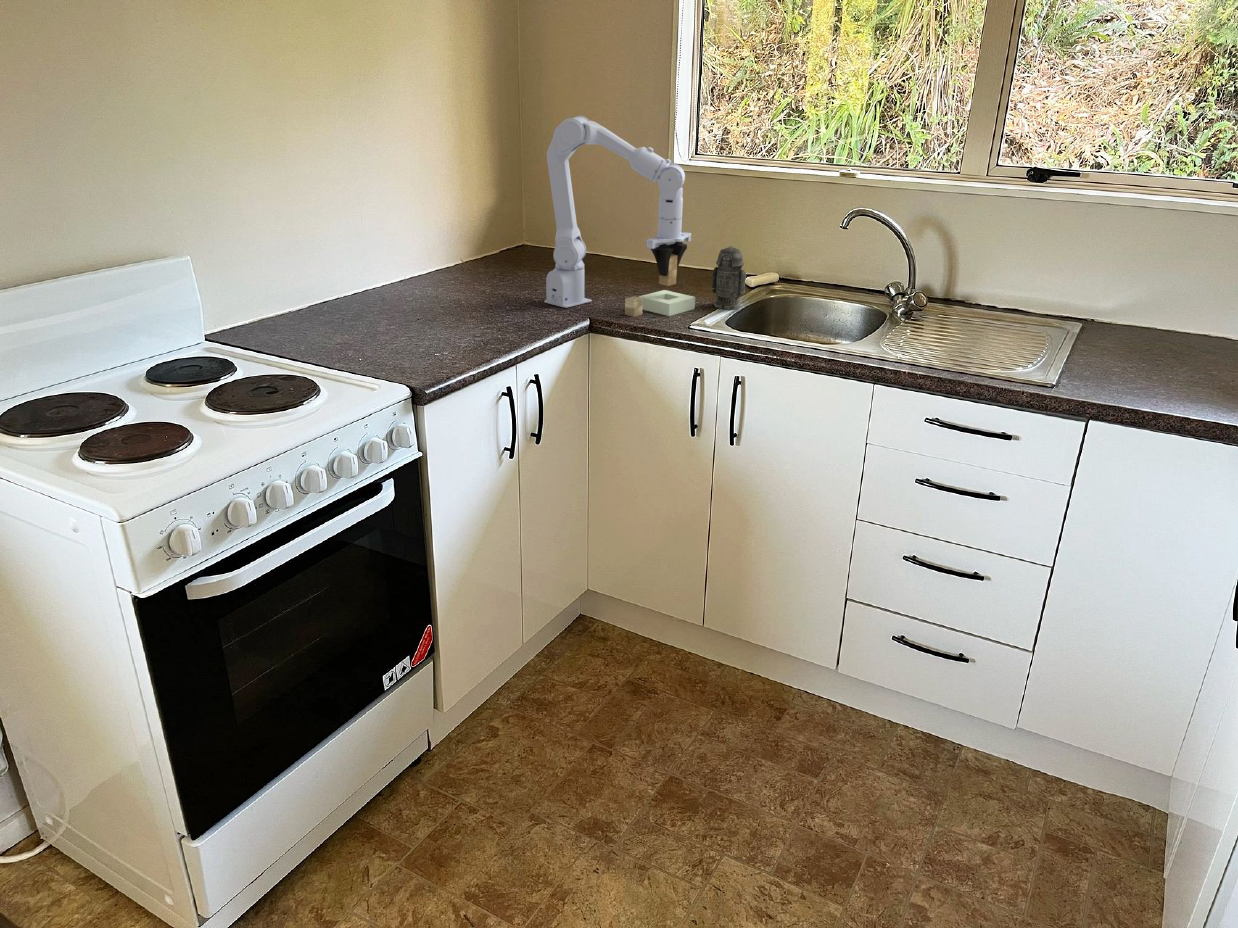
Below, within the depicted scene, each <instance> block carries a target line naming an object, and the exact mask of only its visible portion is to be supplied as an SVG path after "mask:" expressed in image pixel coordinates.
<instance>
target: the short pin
mask: <svg viewBox="0 0 1238 928" xmlns="http://www.w3.org/2000/svg"><path fill="white" fill-rule="evenodd" d="M624 315H625V316H626V315H627V316H630V317H633V318H634V317H639V316H642V315H643V298H639V297H638V296H631V297H630V296H629V297H625V299H624Z"/></svg>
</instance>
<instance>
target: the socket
mask: <svg viewBox="0 0 1238 928" xmlns="http://www.w3.org/2000/svg"><path fill="white" fill-rule="evenodd" d="M637 297H639V298H643V309H642V311H648V312H652V313H654V314H659V315H663V316H666V317H670V316H675V315H678V314H681V313H685V312H688V311H692V310H695V309H696V296H692V295H688V294H685V293H679V292H674V291H671V290H667V289H663V290H658V291H655V292H652V293H648V294H643V295H639V296H637Z"/></svg>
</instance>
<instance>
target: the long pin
mask: <svg viewBox="0 0 1238 928" xmlns="http://www.w3.org/2000/svg"><path fill="white" fill-rule="evenodd" d="M677 256H678V255H673V254H671V257H670V261H669V269H668V274H667V276H662V275H659V274H658V284H660V285H663V286H666V287H667V286H669V287H670V286H673V285H676V284H677V274H678V273H677V272H678V270H677Z"/></svg>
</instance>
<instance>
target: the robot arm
mask: <svg viewBox="0 0 1238 928" xmlns="http://www.w3.org/2000/svg"><path fill="white" fill-rule="evenodd" d="M551 139H552V140H551V142H550V143H549V146H548V149H547V151H546V162H547V169H548V175H549V184H550V190H551V196H552V199H551V200H552V204H553V211H554V219H555V226H556V232H555V238H554V243H555V247H554V250H553V261H554V262H555V268H553V270H550V271H548V273H547V275H546V278H545V284H546V285H545V289H546V290H545V291H546V295H545V297H546V299H545V300H544V303H546V304H550V305H553V306H556V307H561V308H565V309H566V308H571V307H574V306H575V307H576V306H579V305H580V306H581V305H583V304H587V303H588V304H589V303H591V302H592V299H590V298H586V297H585V263H584V261H583V259H584V258H585V256H586V254H587V246H586V243H585V242H584V240H583V239H582V236H581V235H582V234H581V230H580V228H579V226H578V224H577V223H578V221H577V215H576V207H575V200H574V193H573V185H572V176H571V170H570V163H569V160H570V158H571V157H572V156H573V154H575V152H576V151H577V149H578V148H580V147H582V146H583V145H586V146H589V145H591V146H592V145H593V146H594V145H599V146H601V147H604V148H605V149H607V150H609V151H611V152H612V153H615V154H616V155H618V156H620V157H622V158H623V159H626V160H627V161H629V164H630V168H631V169H632V171H635V172H637V173H638V174H639V175H640V176H643V177H644V178H645V179H648V180H650V181H652V183H657V186H658V187H659V198H658V217H657V235H655V236H654V237H651V238H649V239H646V248H648V249H650V251H651V252H652V254H653V256H654V258H655V262H656V266H657V270H658V276H659V275H662V276H667V274H668V269H669V261H670V257H671V254H673V255H678V256H677V271H678V270H679V265H680V262H681V261H682V258H683V256H684V253H685V252H686V251H687V249H688V244H687V243H686V242H689V243H690V242H691V241H692V233H691V232H687V231H686V232H682V227H683V224H682V223H683V209H684V208H683V206H684V205H683V204H684V198H683V195H684V194H683V193H684V191H683V189H684V188H683V187H682V186H683V185H684V184H685V181H686V173H685V170H684V169H683V168H682V166H680V164H678V163H672V160H671V159H669V158H667V159H665V158H663V157H662V156H660V155H658V154H657V153H656V152H654V148H652V147H651V146H649V147H645V146H640V147H638V148H636V147H635V146H633V145H632V144H630V143H629V142H628V141H626V140H624V139H622V137H619V135H616V134H615V133H614V132H612V131H611V130H609V129H608V128H606V127H605V126H602V125H601V124H599V123H598V122H596V121H595V120H594V121H593V120H590V119H589V118H587V117H586V116H583V115H577V116H574V117H569V118H565V119H564V120H562V121H561V123H559V125H558V126H557V127H556V128H555V129H554V134H553V136H552V138H551ZM684 242H685V243H684Z"/></svg>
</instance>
